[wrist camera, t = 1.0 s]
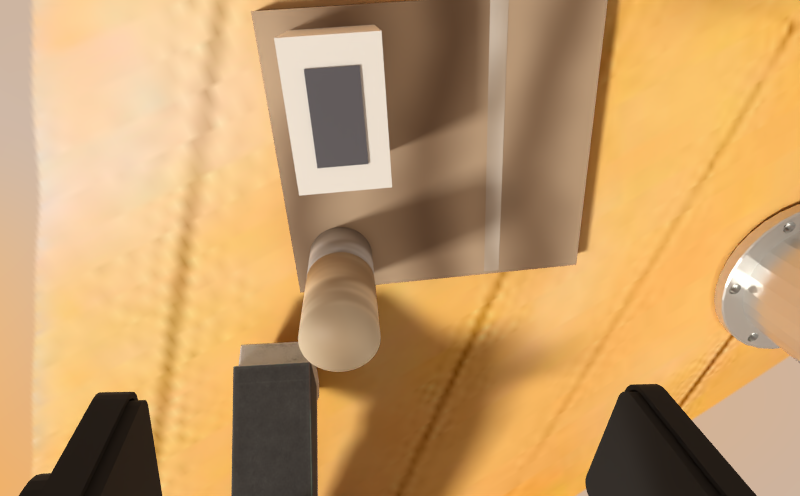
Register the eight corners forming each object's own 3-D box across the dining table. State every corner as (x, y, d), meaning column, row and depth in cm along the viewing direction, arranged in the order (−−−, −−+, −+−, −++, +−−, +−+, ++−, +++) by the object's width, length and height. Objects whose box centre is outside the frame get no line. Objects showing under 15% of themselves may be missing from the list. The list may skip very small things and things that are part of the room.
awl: (369, 224, 31) (377, 301, 23) (374, 278, 33) (383, 367, 25) (305, 230, 31) (292, 309, 23) (314, 284, 33) (304, 376, 25)
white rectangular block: (373, 24, 26) (381, 30, 21) (383, 153, 29) (392, 188, 24) (288, 30, 26) (273, 38, 20) (307, 159, 29) (298, 196, 24)
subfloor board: (598, -12, 28) (609, -12, 26) (569, 256, 35) (576, 264, 34) (255, 11, 26) (251, 11, 25) (302, 283, 34) (300, 292, 33)
